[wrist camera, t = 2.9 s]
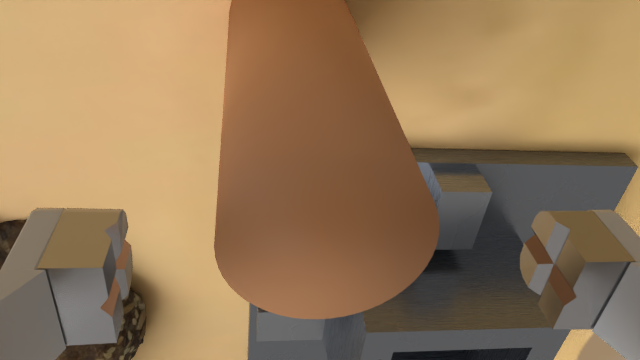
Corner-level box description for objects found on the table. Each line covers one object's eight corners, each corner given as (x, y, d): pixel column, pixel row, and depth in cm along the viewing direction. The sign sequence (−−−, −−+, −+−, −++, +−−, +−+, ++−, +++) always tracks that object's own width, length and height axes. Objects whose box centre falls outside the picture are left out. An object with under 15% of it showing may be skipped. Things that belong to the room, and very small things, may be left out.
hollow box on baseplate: (254, 144, 21) (257, 252, 16) (624, 153, 23) (721, 249, 19) (246, 382, 30) (247, 494, 26) (511, 371, 33) (556, 472, 28)
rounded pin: (229, -45, 17) (212, 149, 8) (354, -36, 17) (465, 155, 9) (229, 72, 19) (215, 321, 10) (339, 77, 20) (414, 317, 11)
